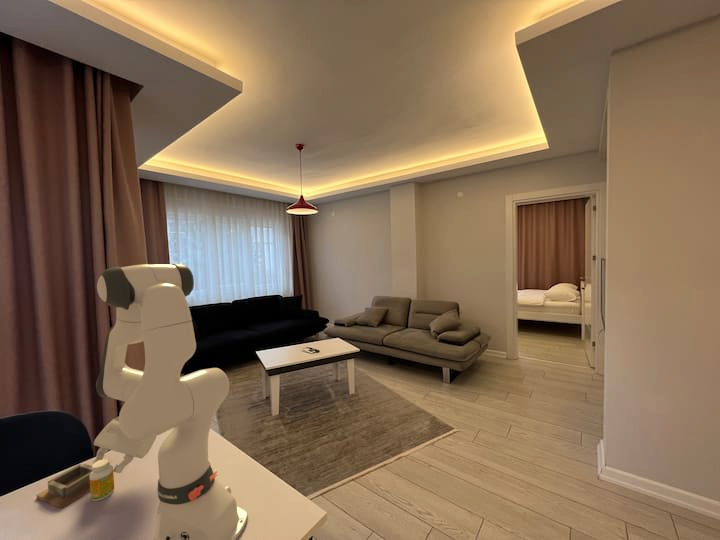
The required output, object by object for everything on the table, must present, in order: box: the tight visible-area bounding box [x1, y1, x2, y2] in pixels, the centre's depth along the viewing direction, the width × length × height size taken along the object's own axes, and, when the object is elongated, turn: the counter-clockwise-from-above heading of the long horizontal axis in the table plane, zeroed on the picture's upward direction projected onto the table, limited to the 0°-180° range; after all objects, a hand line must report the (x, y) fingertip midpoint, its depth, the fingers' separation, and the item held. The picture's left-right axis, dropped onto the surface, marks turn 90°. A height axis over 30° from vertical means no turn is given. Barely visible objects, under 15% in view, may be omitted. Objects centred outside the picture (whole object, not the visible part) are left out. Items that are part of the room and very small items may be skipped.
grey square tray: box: [36, 463, 92, 509], centre depth 92 cm, size 12×12×4 cm
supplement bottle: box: [89, 458, 115, 502], centre depth 89 cm, size 5×5×10 cm
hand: (105, 469), depth 90 cm, fingers open, 8 cm apart
